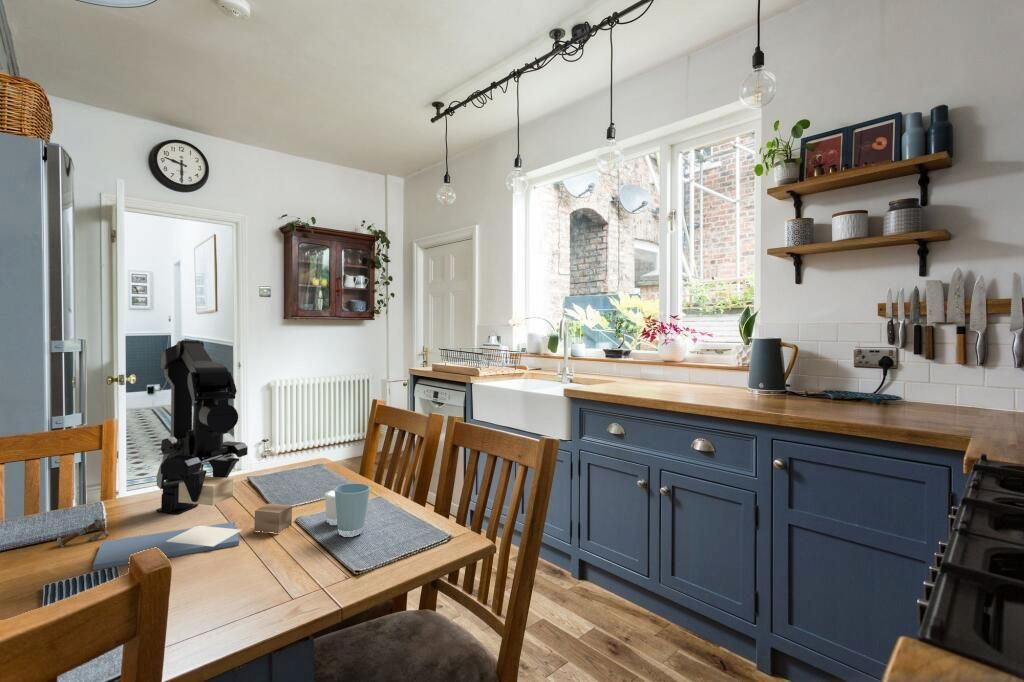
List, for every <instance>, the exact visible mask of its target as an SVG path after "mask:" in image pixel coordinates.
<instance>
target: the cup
mask: <svg viewBox="0 0 1024 682" xmlns="http://www.w3.org/2000/svg"><path fill="white" fill-rule="evenodd" d="M370 487H371V486H370V485H368V484H365V483H361V482H359V483H358V482H353V483H352V482H351V483H344V484H339V485H338V486H336V487H334V490H335V500H336V513H337V526H336V527H337V530H338V529H339V530H342V531H353V530H357V529H360V528H362V527H363V526H364V527H365V522H366V518H367V517H366V516H367V511H368V503H369V496H370V489H371V488H370Z"/></svg>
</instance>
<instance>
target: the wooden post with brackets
mask: <svg viewBox="0 0 1024 682" xmlns="http://www.w3.org/2000/svg"><path fill="white" fill-rule="evenodd" d="M106 520H107V519H106V518H105V517H103V518H101V517H100V518H99V519H98V518H95V520H94V522H93V523H92V524H90V525H88V526H84V527H82V528H81V529H79V530H77V531H76V532H74V533H71V534H69V535H67V536H64V537H62V538H61V537H57V539H56V540H57V542H58V544H59V546H60V548H65V545H66V544H67V543H69V542H71V541H73V540H74V539H75V538H78V537H80V536H82V535H84V534H86V533H88V532H90V530H93V529H94V530H98V531H101V533H95V534H94V535H92V536H89V538H88V539H87V540H86V541H87V543H89V542H94V541H96V540H99V538H100V537H102V535H104V536H105V538H108V537H109V536H110V534H109V532H108V531H107V529H106V528H105V527H104V525H103V524H104V522H106Z"/></svg>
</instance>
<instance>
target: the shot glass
mask: <svg viewBox="0 0 1024 682" xmlns="http://www.w3.org/2000/svg"><path fill="white" fill-rule="evenodd" d="M324 501H325V503H324V504H325V517H327V518H329V519H337V513H336V500H335V489H332V490H329V491H326V492H325V493H324Z"/></svg>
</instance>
